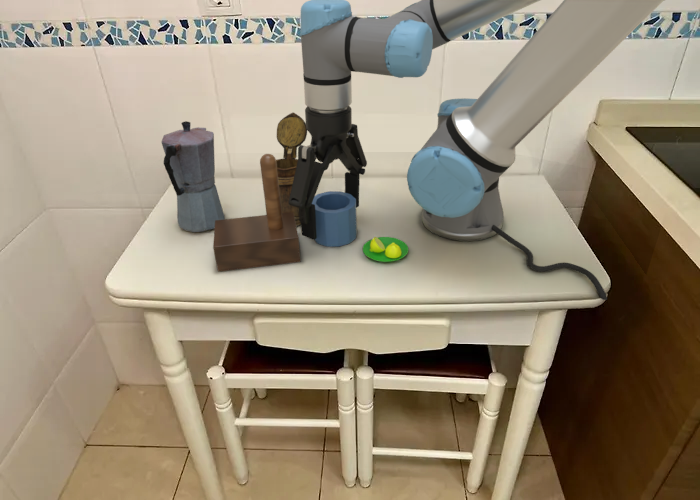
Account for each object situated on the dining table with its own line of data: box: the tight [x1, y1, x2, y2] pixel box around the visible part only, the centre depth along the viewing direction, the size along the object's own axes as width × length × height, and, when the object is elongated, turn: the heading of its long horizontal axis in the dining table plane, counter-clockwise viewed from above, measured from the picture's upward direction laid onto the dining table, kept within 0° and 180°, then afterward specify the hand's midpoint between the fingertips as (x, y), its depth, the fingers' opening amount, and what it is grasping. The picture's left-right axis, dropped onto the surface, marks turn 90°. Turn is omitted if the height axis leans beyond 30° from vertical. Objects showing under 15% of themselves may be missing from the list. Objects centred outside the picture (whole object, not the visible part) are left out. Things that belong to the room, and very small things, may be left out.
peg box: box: [212, 153, 301, 273], centre depth 87 cm, size 14×9×18 cm, turn 100°
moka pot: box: [161, 120, 226, 233], centre depth 96 cm, size 10×15×20 cm, turn 173°
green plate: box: [362, 236, 409, 263], centre depth 91 cm, size 8×8×3 cm
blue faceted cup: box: [312, 190, 358, 248], centre depth 95 cm, size 8×8×7 cm
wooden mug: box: [276, 112, 308, 227], centre depth 100 cm, size 9×14×18 cm, turn 174°
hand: (331, 220), depth 95 cm, fingers open, 13 cm apart
